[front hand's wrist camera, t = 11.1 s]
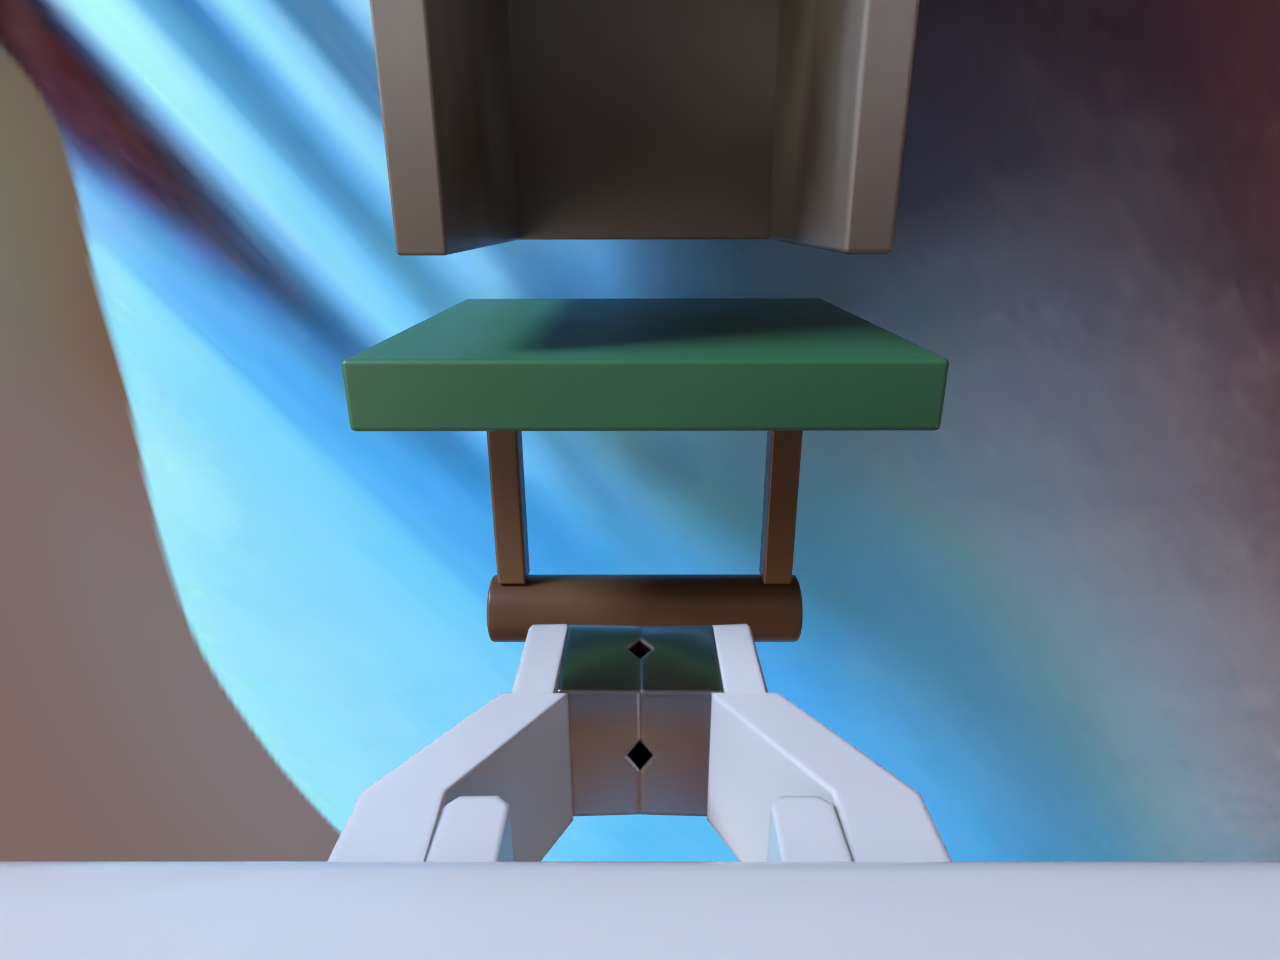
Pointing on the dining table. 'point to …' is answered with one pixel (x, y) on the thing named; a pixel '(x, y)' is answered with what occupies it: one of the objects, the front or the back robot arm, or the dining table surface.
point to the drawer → (644, 209)
